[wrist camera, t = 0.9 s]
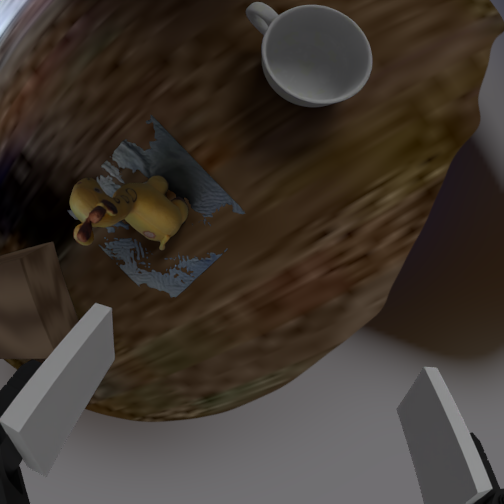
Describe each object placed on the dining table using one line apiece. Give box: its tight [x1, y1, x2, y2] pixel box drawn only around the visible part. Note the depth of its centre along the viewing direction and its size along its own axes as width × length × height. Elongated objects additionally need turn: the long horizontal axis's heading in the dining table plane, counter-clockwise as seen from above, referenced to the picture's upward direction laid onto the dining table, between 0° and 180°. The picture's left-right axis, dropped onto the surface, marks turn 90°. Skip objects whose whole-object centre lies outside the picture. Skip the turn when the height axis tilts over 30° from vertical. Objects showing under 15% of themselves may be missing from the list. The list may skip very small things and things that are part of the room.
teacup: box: [246, 2, 372, 107], centre depth 28 cm, size 14×11×8 cm
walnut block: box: [0, 242, 79, 359], centre depth 35 cm, size 13×13×8 cm
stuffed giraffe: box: [67, 115, 244, 297], centre depth 30 cm, size 16×18×16 cm
